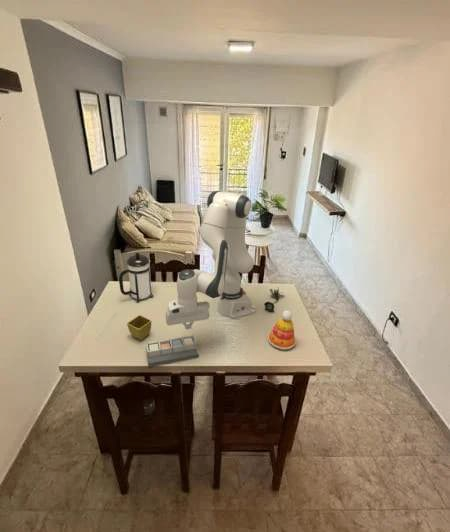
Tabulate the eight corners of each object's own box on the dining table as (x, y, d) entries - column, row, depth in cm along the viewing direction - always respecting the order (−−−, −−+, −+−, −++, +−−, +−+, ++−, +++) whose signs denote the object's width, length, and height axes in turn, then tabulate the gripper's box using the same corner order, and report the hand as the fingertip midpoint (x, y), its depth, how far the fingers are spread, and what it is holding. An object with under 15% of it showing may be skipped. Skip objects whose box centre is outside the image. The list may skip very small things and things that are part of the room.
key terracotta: (169, 348, 149) (169, 343, 147) (170, 354, 145) (170, 348, 144) (161, 350, 147) (160, 344, 146) (162, 355, 144) (161, 350, 142)
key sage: (158, 349, 147) (157, 343, 145) (159, 355, 143) (158, 349, 142) (149, 350, 145) (149, 345, 144) (150, 356, 142) (149, 350, 140)
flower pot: (140, 344, 152) (138, 329, 148) (128, 337, 156) (126, 323, 152) (153, 334, 158) (151, 320, 154) (140, 328, 162) (139, 314, 158)
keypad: (192, 338, 157) (191, 330, 154) (198, 357, 145) (198, 348, 142) (146, 346, 150) (145, 337, 147) (148, 367, 138) (147, 358, 136)
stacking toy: (262, 342, 157) (265, 310, 148) (277, 329, 167) (281, 299, 158) (285, 355, 149) (291, 323, 140) (300, 341, 158) (306, 310, 150)
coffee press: (133, 288, 197) (128, 246, 184) (157, 291, 196) (154, 248, 182) (121, 303, 182) (115, 258, 168) (147, 306, 180) (143, 261, 167)
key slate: (180, 345, 150) (180, 339, 148) (182, 350, 146) (182, 345, 145) (172, 346, 149) (172, 341, 147) (173, 352, 145) (173, 346, 144)
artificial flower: (260, 311, 183) (258, 296, 181) (274, 298, 202) (272, 284, 199) (274, 313, 178) (272, 297, 176) (287, 299, 197) (286, 285, 195)
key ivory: (191, 343, 151) (191, 337, 150) (193, 348, 148) (193, 343, 146) (183, 344, 150) (183, 339, 149) (185, 350, 147) (185, 344, 145)
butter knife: (94, 339, 153) (99, 340, 153) (114, 312, 174) (119, 312, 174) (94, 340, 153) (99, 341, 153) (114, 312, 174) (119, 313, 174)
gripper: (207, 297, 144) (207, 320, 150) (164, 303, 138) (165, 327, 144) (211, 304, 138) (211, 328, 145) (166, 311, 132) (167, 336, 139)
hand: (188, 328), depth 144 cm, fingers closed
